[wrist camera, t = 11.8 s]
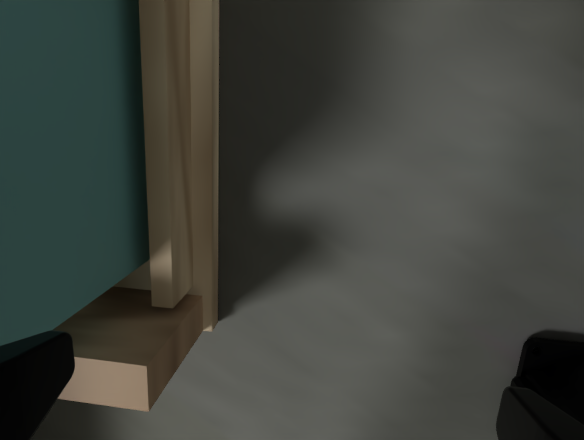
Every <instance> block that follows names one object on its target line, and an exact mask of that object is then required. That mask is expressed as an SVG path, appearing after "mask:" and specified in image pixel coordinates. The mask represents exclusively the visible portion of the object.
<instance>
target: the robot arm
mask: <svg viewBox="0 0 584 440" xmlns="http://www.w3.org/2000/svg"><path fill="white" fill-rule="evenodd" d="M535 347H539V349H538V350H536V351H532V350H533V348H535ZM74 370H75V359H74V349H73V339H72V336H71V334H70V333H68V332H63V331H55V330H49V331H46V332H43V333H39V334H36V335H33V336H30V337H27V338H24V339H20V340H17V341H14V342H11V343H8V344H5V345H1V346H0V440H30V439H31V437H32V436H33V434H34V433H35V432H36V430H37V429H38V427H39V426H40V424H41V423H42V421H43V420H44V418H45V417H46V415H47V414H48V412H49V411H50V409H51V408H52V406H53V405H54V403H55V402H56V400H57V399H58V397H59V396H60V394H61V393H62V391H63V390H64V388H65V387H66V385H67V384H68V382H69V381H70V379H71V377H72V375H73V373H74ZM496 431H497V436H498V439H499V440H584V343H579V342H570V341H561V340H551V339H542V338H530V339H528V340H527V341H526V342H525V343H524V345H523V348H522V353H521V357H520V361H519V366H518V370H517V374H516V376H515V377H514V378H513V379H512V381H511V386H508V387H506V388H505V389H504V391H503V394H502V399H501V403H500V408H499V412H498V417H497V422H496Z"/></svg>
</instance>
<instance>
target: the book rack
mask: <svg viewBox="0 0 584 440" xmlns="http://www.w3.org/2000/svg"><path fill="white" fill-rule="evenodd" d="M139 18H140V41H141V65H142V88H143V111H144V135H145V158H146V181H147V205H148V228H149V251H150V260H148V261H147V262H145V263H144V264H143V265H141V266H140V267H139V268H137V269H136V270H134V271H133V272H132V273H130V274H129V275H128V276H126V277H125V278H123V279H122V280H121V281H119V282H118V283H117V284H115V285H114V286H112V287H111V288H110V289H108V290H107V291H106V292H104V293H103V294H101V295H100V296H99V297H97V298H96V299H94V300H93V301H92V302H90V303H89V304H88V305H86V306H85V307H83V308H82V309H81V310H79V311H78V312H77V313H75V314H74V315H72V316H71V317H70V318H68V319H67V320H66V321H64V322H63V323H61V324H60V325H59V326H57V327H56V328H54V329H53V330H55V331H63V332H68V333H70V334H71V336H72V339H73V349H74V359H75V370H74V373H73V375H72V377H71V379H70V381H69V382H68V384H67V385H66V387H65V388H64V390H63V391H62V393H61V394H60V396H59V397H58V399H63V400H70V401H77V402H84V403H91V404H98V405H105V406H112V407H119V408H126V409H133V410H140V411H147V412H149V411H150V409H151V408H152V406H153V405H154V403H155V402H156V400H157V399H158V397H159V396H160V394H161V393H162V391H163V390H164V388H165V387H166V385H167V384H168V382H169V381H170V379H171V378H172V376H173V375H174V373H175V372H176V370H177V369H178V367H179V366H180V364H181V363H182V361H183V360H184V358H185V357H186V355H187V354H188V352H189V351H190V349H191V348H192V346H193V345H194V343H195V342H196V340H197V339H198V337H199V336H200V334H201V333H202V331H213V329H214V328H215V326H216V324H217V323H218V169H219V0H139Z"/></svg>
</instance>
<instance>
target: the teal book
mask: <svg viewBox="0 0 584 440" xmlns="http://www.w3.org/2000/svg"><path fill="white" fill-rule="evenodd" d="M148 260H150V251H149V228H148V205H147V181H146V158H145V135H144V111H143V88H142V65H141V41H140V18H139V0H0V346H1V345H5V344H8V343H11V342H14V341H17V340H20V339H24V338H27V337H30V336H33V335H36V334H39V333H43V332H46V331H49V330H53V329H54V328H56V327H57V326H59V325H60V324H61V323H63V322H64V321H66V320H67V319H68V318H70V317H71V316H72V315H74V314H75V313H77V312H78V311H79V310H81V309H82V308H83V307H85V306H86V305H88V304H89V303H90V302H92V301H93V300H94V299H96V298H97V297H99V296H100V295H101V294H103V293H104V292H106V291H107V290H108V289H110V288H111V287H112V286H114V285H115V284H117V283H118V282H119V281H121V280H122V279H123V278H125V277H126V276H128V275H129V274H130V273H132V272H133V271H134V270H136V269H137V268H139V267H140V266H141V265H143V264H144V263H145V262H147V261H148Z"/></svg>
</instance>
